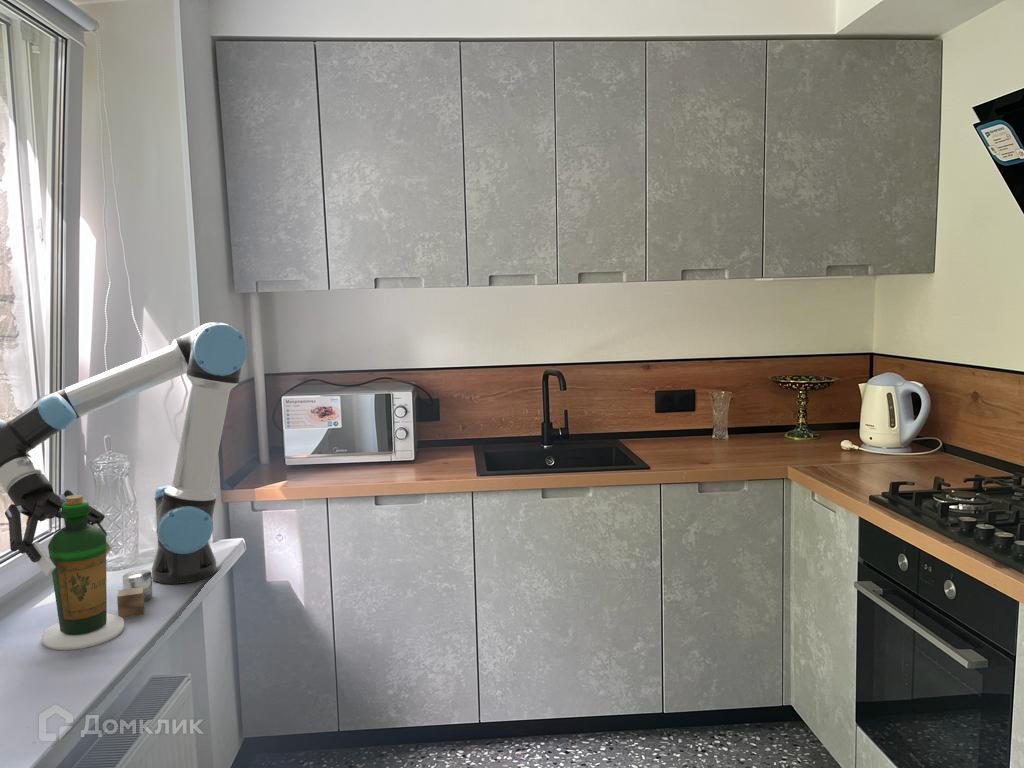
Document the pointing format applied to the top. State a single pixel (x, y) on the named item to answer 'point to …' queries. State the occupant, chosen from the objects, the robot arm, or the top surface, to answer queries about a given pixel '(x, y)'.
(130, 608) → the walnut block
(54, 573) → the bottle
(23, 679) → the top surface
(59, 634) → the white round disc
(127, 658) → the top surface
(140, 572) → the metal tin
